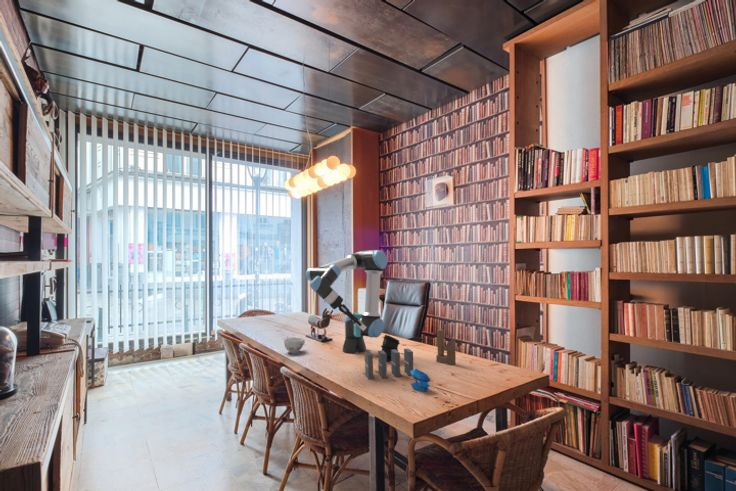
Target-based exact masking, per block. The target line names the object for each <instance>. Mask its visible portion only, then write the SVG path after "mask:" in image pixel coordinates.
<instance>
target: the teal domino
mask: <svg viewBox="0 0 736 491" xmlns="http://www.w3.org/2000/svg"><path fill="white" fill-rule="evenodd" d="M352 314H353V315H354V316H355V317H356V318H358V320H359V321H360V314H361V313H360V312H353V313H352ZM354 335H355V336H356V337H361V329H360V328H359V327H358V326H357V325H356V324H354Z"/></svg>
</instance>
